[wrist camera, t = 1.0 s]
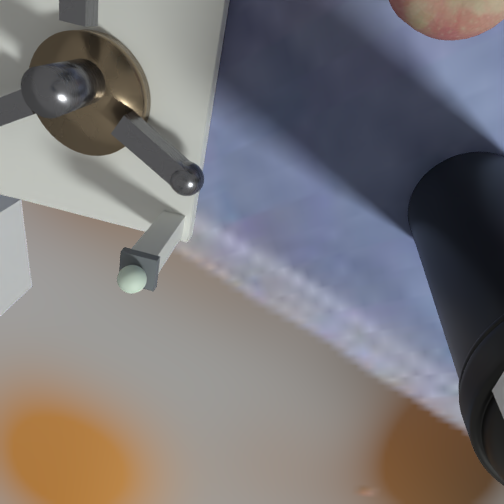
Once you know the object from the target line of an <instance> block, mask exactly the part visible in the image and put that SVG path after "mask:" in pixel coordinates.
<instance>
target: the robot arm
mask: <svg viewBox="0 0 504 504" xmlns="http://www.w3.org/2000/svg"><path fill="white" fill-rule="evenodd" d="M31 287H32V281H31V273H30V265H29V257H28V249H27V241H26V234H25V225H24V217H23V210H22V202H21V199H17V198H13V197H8V196H3V195H0V316H1V315H2V314H3V313H4V312H6V311H7V309H9V308H10V307H11V306H12V305H13V304H14V303H15V302H16V301H17V300H18V299H19V298H20V297H21V296H23V295H24V294H25V293H26V292H27V291H28V290H29V289H30V288H31ZM492 392H493V394H494V397H495V399H496V402H497V404H498V406H499V409H500V411H501V414H502V416H503V418H504V372H503V374H502V375H501V377H500V378H499V380H498V382H497V383H496V385H495V387H494V388H493V390H492Z"/></svg>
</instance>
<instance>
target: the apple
mask: <svg viewBox="0 0 504 504" xmlns="http://www.w3.org/2000/svg"><path fill="white" fill-rule="evenodd" d="M389 2H390V4H391V6H392V8H393V10H394V11H395V13H396V14H397V15H398V17H399V18H401V19H402V20H403V21H404V22H406V23H407V24H408V25H410V26H411V27H412V28H413V29H415V30H416V31H418V32H420V33H422V34H424V35H426V36H429V37H431V38H435V39H440V40H460V39H467V38H470V37H474V36H477V35H479V34H481V33H483V32H485V31H487V30H489V29H491V28H493V27H494V26H495V25H497V24H498V23H499V22H501V21H502V20H503V19H504V0H389Z"/></svg>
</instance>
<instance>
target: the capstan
mask: <svg viewBox="0 0 504 504" xmlns="http://www.w3.org/2000/svg"><path fill="white" fill-rule="evenodd" d="M59 20H60V21H64V22H68V23H72V24H76V25H80V26H84V27H90V26H98V0H59ZM150 108H151V96H150V89H149V84H148V81H147V78H146V75H145V73H144V71H143V69H142V67H141V65H140V63H139V62H138V60H137V59H136V58H135V56H134V55H133V54H132V53H131V51H130V50H129V49H128V48H127V47H126V46H124V45H123V44H122V43H121V42H120V41H118V40H116V39H115V38H113V37H112V36H109V35H107V34H105V33H102V32H99V31H95V30H69V31H62V32H59V33H56V34H54V35H52V36H50V37H48V38H47V39H46V40H44V41H43V42H42V43H41V44H40V45H39V47H38V48H37V50H36V51H35V53H34V55H33V57H32V59H31V62H30V66H29V69H28V70H27V71H26V72H25V73H24V74H23V77H22V79H21V90H18V91H16V92H13V93H10V94H8V95H5V96H3V97H0V126H3V125H6V124H9V123H11V122H14V121H17V120H20V119H23V118H25V117H28V116H31V115H34V114H37V116H38V118H39V119H40V121H41V123H42V124H43V125H44V127H45V128H46V129H47V131H48V132H49V133H50V134H51V135H52V136H53V137H54V138H55V139H56V140H58V141H59V142H60V143H62V144H63V145H64V146H66V147H68V148H69V149H71V150H74V151H76V152H79V153H82V154H85V155H91V156H103V155H108V154H112V153H115V152H117V151H119V150H120V149H122V148H124V147H127V148H128V149H129V150H130V151H131V152H132V153H134V154H135V155H136V156H137V157H138V158H139V159H140V160H142V161H143V162H144V163H145V164H146V165H147V166H149V167H150V168H151V169H152V170H153V171H154V172H155V173H157V174H158V175H159V176H160V177H161V178H162V179H164V180H165V181H166V182H167V183H168V184H169V185H170V186H171V188H172V189H173V190H174V191H175V192H176V193H177V194H179V195H182V196H192V195H194V194H196V193H197V192H199V191H200V189H201V188H202V186H203V183H204V175H203V172H202V170H201V168H200V167H199V166H198V165H197V164H195V163H194V162H191V161H189V160H188V159H187V158H186V157H185V156H184V155H183V154H181V153H180V152H179V151H178V150H177V149H176V148H175V147H174V146H172V145H171V144H170V143H169V142H168V141H167V140H166V139H165V138H164V137H162V136H161V135H160V134H159V133H158V132H157V131H156V130H155V129H153V128H152V127H151V126H150V125H149V124H148V123H147V121H148V118H149V114H150Z"/></svg>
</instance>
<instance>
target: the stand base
mask: <svg viewBox="0 0 504 504" xmlns="http://www.w3.org/2000/svg"><path fill="white" fill-rule="evenodd" d="M229 2H230V0H98V26H90V27H84V26H80V25H76V24H72V23H68V22H64V21H60V20H59V0H0V97H3V96H5V95H8V94H10V93H13V92H16V91H18V90H21V79H22V77H23V74H24V73H25V72H26V71H27V70H28V69H29V66H30V62H31V59H32V57H33V55H34V53H35V51H36V50H37V48H38V47H39V45H40V44H41V43H42V42H43V41H44V40H46V39H47V38H48V37H50V36H52V35H54V34H56V33H59V32H62V31H69V30H95V31H99V32H102V33H105V34H107V35H109V36H112V37H113V38H115V39H116V40H118V41H120V42H121V43H122V44H123V45H124V46H126V47H127V48H128V49H129V50H130V51H131V53H132V54H133V55H134V56H135V58H136V59H137V60H138V62H139V63H140V65H141V67H142V69H143V71H144V73H145V75H146V78H147V81H148V84H149V89H150V96H151V108H150V114H149V118H148V121H147V123H148V124H149V125H150V126H151V127H152V128H153V129H155V130H156V131H157V132H158V133H159V134H160V135H161V136H162V137H164V138H165V139H166V140H167V141H168V142H169V143H170V144H171V145H172V146H174V147H175V148H176V149H177V150H178V151H179V152H180V153H181V154H183V155H184V156H185V157H186V158H187V159H188V160H189V161H191V162H194V163H195V164H197V165H198V166H199V167H200V168H201V170H202V172H203V165H204V159H205V153H206V146H207V140H208V134H209V128H210V121H211V115H212V109H213V102H214V96H215V90H216V84H217V77H218V71H219V65H220V58H221V52H222V46H223V39H224V33H225V27H226V21H227V14H228V8H229ZM0 194H2V195H6V196H9V197H13V198H17V199H21V200H25V201H29V202H33V203H36V204H40V205H44V206H48V207H52V208H56V209H60V210H64V211H67V212H72V213H75V214H79V215H83V216H87V217H91V218H95V219H99V220H102V221H106V222H110V223H114V224H118V225H122V226H125V227H129V228H133V229H137V230H141V231H145V233H144V234H143V236H142V237H141V238H140V239H139V240H138V242H137V243H136V244H135V245H134V246H133V248H132V249H130V248H126V247H125V248H123V250H122V251H121V255H120V270H119V274H118V277H117V282H118V285H119V287H120V288H121V289H122V290H123V291H125V292H126V293H137V292H139V291H141V290H142V289H147V290H151V291H154V290H155V288H156V287H157V279H158V273H159V271H160V270H161V268H162V266H163V265H164V264H165V262H166V260H167V259H168V257H169V256H170V254H171V253H172V251H173V250H174V248H175V247H176V245H177V243H178V242H179V240H180V241H183V242H187V243H188V241H189V240H190V238H191V236H192V235H193V228H194V222H195V216H196V209H197V203H198V197H199V192H197V193H196V194H194V195H192V196H182V195H179V194H177V193H176V192H175V191H174V190H173V189H172V188H171V186H170V185H169V184H168V183H167V182H166V181H165V180H164V179H162V178H161V177H160V176H159V175H158V174H157V173H155V172H154V171H153V170H152V169H151V168H150V167H149V166H147V165H146V164H145V163H144V162H143V161H142V160H140V159H139V158H138V157H137V156H136V155H135V154H134V153H132V152H131V151H130V150H129V149H128V148H127V147H124V148H122V149H120V150H119V151H117V152H115V153H112V154H108V155H103V156H91V155H85V154H82V153H79V152H76V151H74V150H71V149H69V148H68V147H66V146H64V145H63V144H62V143H60V142H59V141H58V140H56V139H55V138H54V137H53V136H52V135H51V134H50V133H49V132H48V131H47V129H46V128H45V127H44V125H43V124H42V123H41V121H40V119H39V118H38V116H37V114H34V115H31V116H28V117H25V118H23V119H20V120H17V121H14V122H11V123H9V124H6V125H3V126H0Z"/></svg>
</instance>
